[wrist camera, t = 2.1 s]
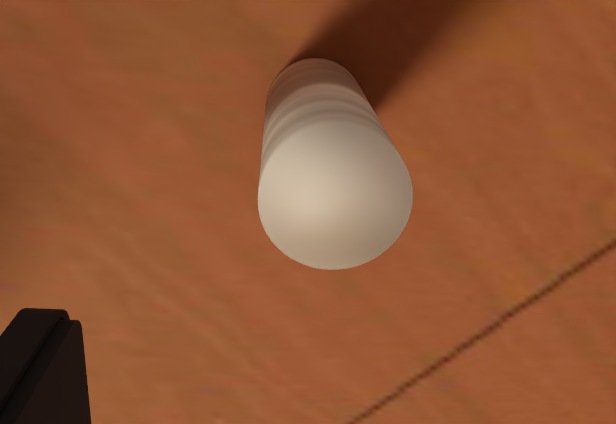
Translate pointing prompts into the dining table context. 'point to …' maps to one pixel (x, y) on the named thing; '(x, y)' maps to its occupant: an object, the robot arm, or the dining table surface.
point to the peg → (329, 170)
